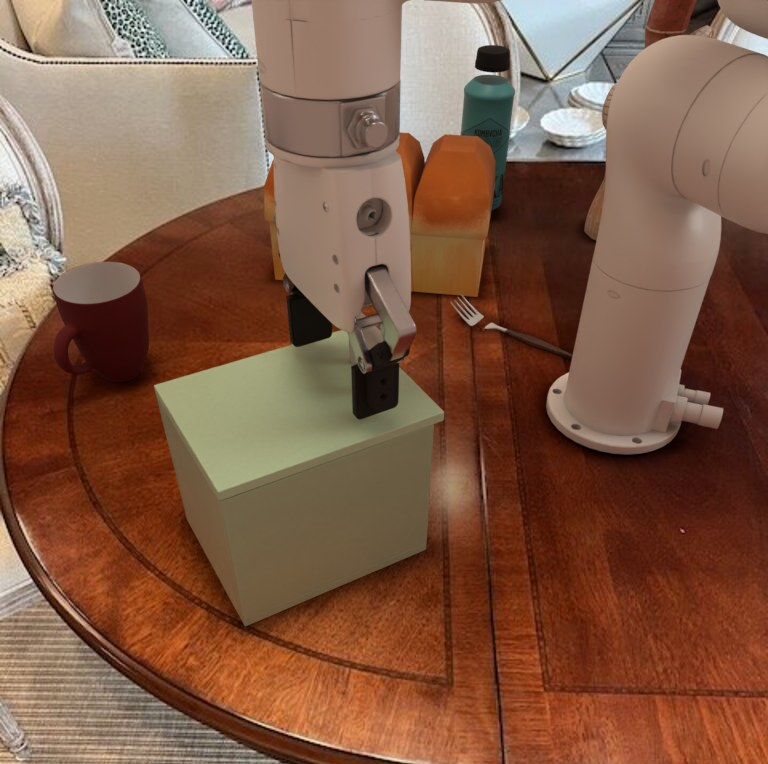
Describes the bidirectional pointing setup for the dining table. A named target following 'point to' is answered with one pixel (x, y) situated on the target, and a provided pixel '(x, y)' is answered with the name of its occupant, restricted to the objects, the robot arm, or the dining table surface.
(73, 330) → the mug
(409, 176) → the bread
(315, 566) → the caddy
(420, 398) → the lid
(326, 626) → the dining table surface
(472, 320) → the fork
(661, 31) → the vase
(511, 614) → the dining table surface
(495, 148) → the beverage bottle
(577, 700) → the dining table surface
